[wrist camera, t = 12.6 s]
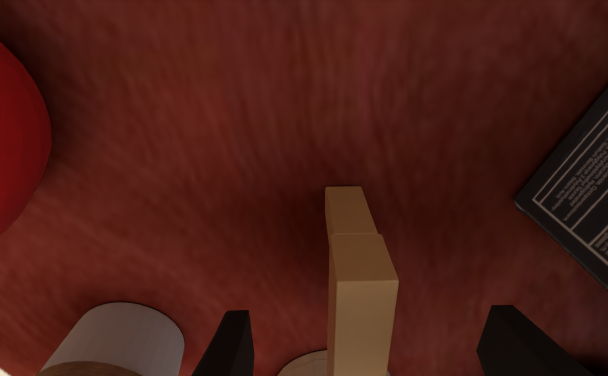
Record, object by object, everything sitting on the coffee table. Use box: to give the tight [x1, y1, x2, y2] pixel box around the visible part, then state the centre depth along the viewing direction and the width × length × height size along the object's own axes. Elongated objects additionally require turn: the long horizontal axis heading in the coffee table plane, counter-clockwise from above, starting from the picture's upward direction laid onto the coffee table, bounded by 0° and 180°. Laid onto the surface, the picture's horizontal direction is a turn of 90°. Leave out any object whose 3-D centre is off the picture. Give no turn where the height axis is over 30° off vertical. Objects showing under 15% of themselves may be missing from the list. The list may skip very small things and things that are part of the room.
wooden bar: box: [325, 186, 399, 376], centre depth 17 cm, size 16×4×6 cm, turn 1°
